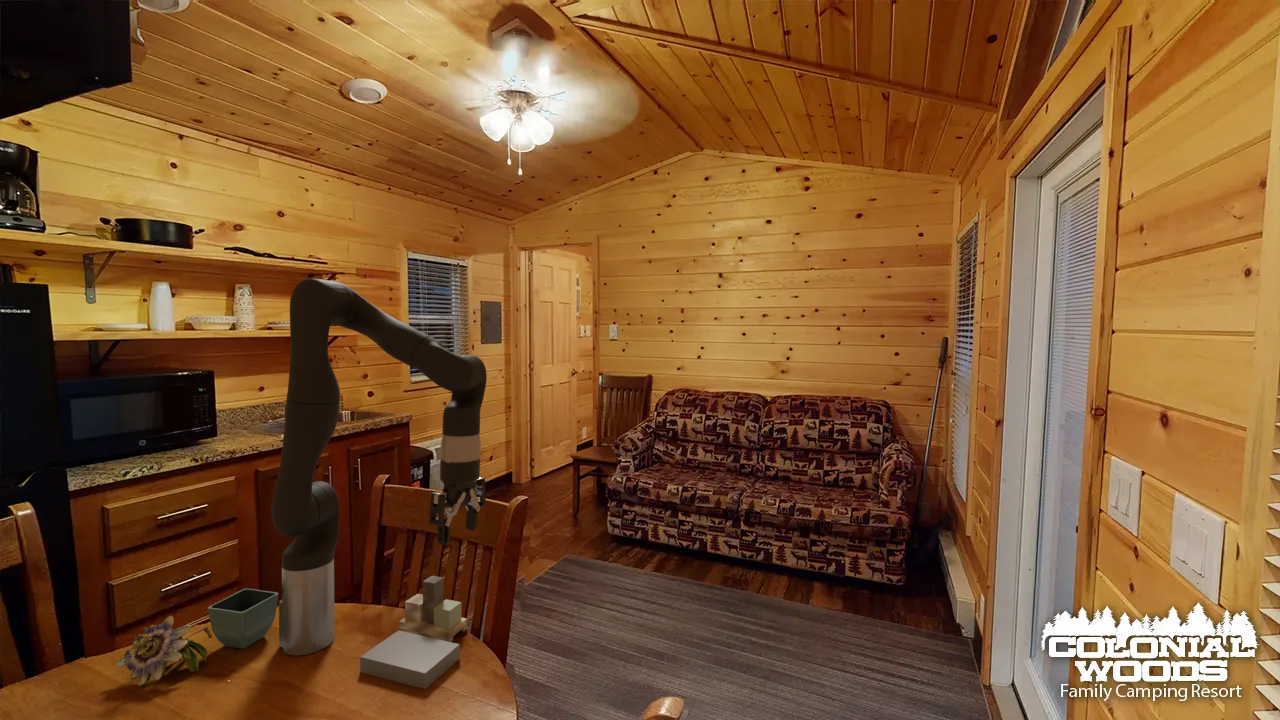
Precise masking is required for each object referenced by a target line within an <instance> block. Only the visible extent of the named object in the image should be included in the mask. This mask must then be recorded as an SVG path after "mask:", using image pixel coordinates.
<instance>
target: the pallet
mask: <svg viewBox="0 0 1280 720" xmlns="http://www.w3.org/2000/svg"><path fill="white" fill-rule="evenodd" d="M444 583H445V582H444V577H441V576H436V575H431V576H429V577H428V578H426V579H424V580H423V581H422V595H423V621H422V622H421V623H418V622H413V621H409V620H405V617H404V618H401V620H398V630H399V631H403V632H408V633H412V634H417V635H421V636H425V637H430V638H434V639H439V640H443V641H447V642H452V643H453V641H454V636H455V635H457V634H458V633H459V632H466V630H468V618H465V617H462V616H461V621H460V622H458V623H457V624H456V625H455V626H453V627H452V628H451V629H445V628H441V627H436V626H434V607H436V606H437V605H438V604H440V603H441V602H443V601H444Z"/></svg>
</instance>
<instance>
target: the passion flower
mask: <svg viewBox="0 0 1280 720" xmlns="http://www.w3.org/2000/svg"><path fill="white" fill-rule="evenodd" d="M174 618H175V617H174V616H172V615H169V616H168V617H166V618H165V619H164V621H163V622H162V623H157V624H152V625H150V626H149V627H143V629H142V630H143V631H144V632H143V633H142V634H141V633H139V634H138V635H137V637H134V641H133V640H132V641H130V643H131V644H132V646H131V648H130V649H127V650H126V651H125V653H124V655H123V657H121V658H120V659H118V660H117V661H116V662H114V666H115V667H124V666H126V667H127V670H129V671H132V672H131V674H130V680H131V681H133V680H136V679H139V680H138V685H137V686H138V687H142V685H143V686H145V685H146V684H147V683H148V682H149V681H150V679H151V676H152V677H153V679H155V680H156V681H159V680H160V679H161V678H163V676H164V675H165V673H166V668H167V664H168V663H170V662H172V663H175V662H179V661H180V660H183V661H184V664H185V665H186V667H187V668H188V670H189V671H190V673H194V672H195V671H197V672H199V666H200V664H199V661H200V660H199V656H198V655H200V657H202V660H204V663H205V664H206V663H207V661H208V660H207V658H208V655H209V654H208V651H207V649H206V647H204V646H203V644H200V643H199V642H196V641H194V640H193V639H189V638H190V637H192V636H194V635H196V634H198V633H200V632H202V631H203V632H205V633H206V634H207V637H208V639H212V638H213V634H212V633H211V631H210V630H209V629H208V626H206V627H204V628H202V629H200V630H198V631H196V632H194V633H193V634H190V635H189V636H187V637H186V638H183V636H184V635H186V634H187V633H189V632H190V630H191V629H192V628H191V627H192V626H191V624H187V625H182V626H181V627H179V628H175V629H172V628H173V625H174ZM195 651H196V652H197V653H198V654H197V653H195ZM181 658H182V659H181ZM195 673H196V672H195Z"/></svg>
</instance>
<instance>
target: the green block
mask: <svg viewBox="0 0 1280 720" xmlns="http://www.w3.org/2000/svg"><path fill="white" fill-rule="evenodd" d="M461 617H462V601H457V600H452V599H446V598H445V600H444V599H443V602H441V603H440V604H438V605H437V606H436V607H434V626H436V627H441V628H445V629H451V628H452V627H453V626H455V625H456V624H457V623H458V622H460V621H461Z"/></svg>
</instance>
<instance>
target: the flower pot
mask: <svg viewBox="0 0 1280 720" xmlns="http://www.w3.org/2000/svg"><path fill="white" fill-rule="evenodd" d="M279 595H280V594H279V592H276V591H268V590H260V589H254V588H244V589H241V590H239V591H237V592H235V593H233V594H231V595H229V596H227V597H225V598H222V599H221V600H220V601H218V602H215V603H213V604H211V605H210V606H208V607H207V613H208V617H209V622H210V627H211V630H212V632H213V634H214V636H215V638H216V639H217V640H218V642H220V643H221V644H222V645H223V646H224V647H231V648H237V649H241V650H242V649H246V648H249V646H252V645H253V644H255V642H257V641H260V640H261V639H262V638H264V637H265V636H266V635H267V633H268V632H269V630H270V629H271V627H272V625H273V624H274V621H275V618H276V613H277V607H278V600H279Z"/></svg>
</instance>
